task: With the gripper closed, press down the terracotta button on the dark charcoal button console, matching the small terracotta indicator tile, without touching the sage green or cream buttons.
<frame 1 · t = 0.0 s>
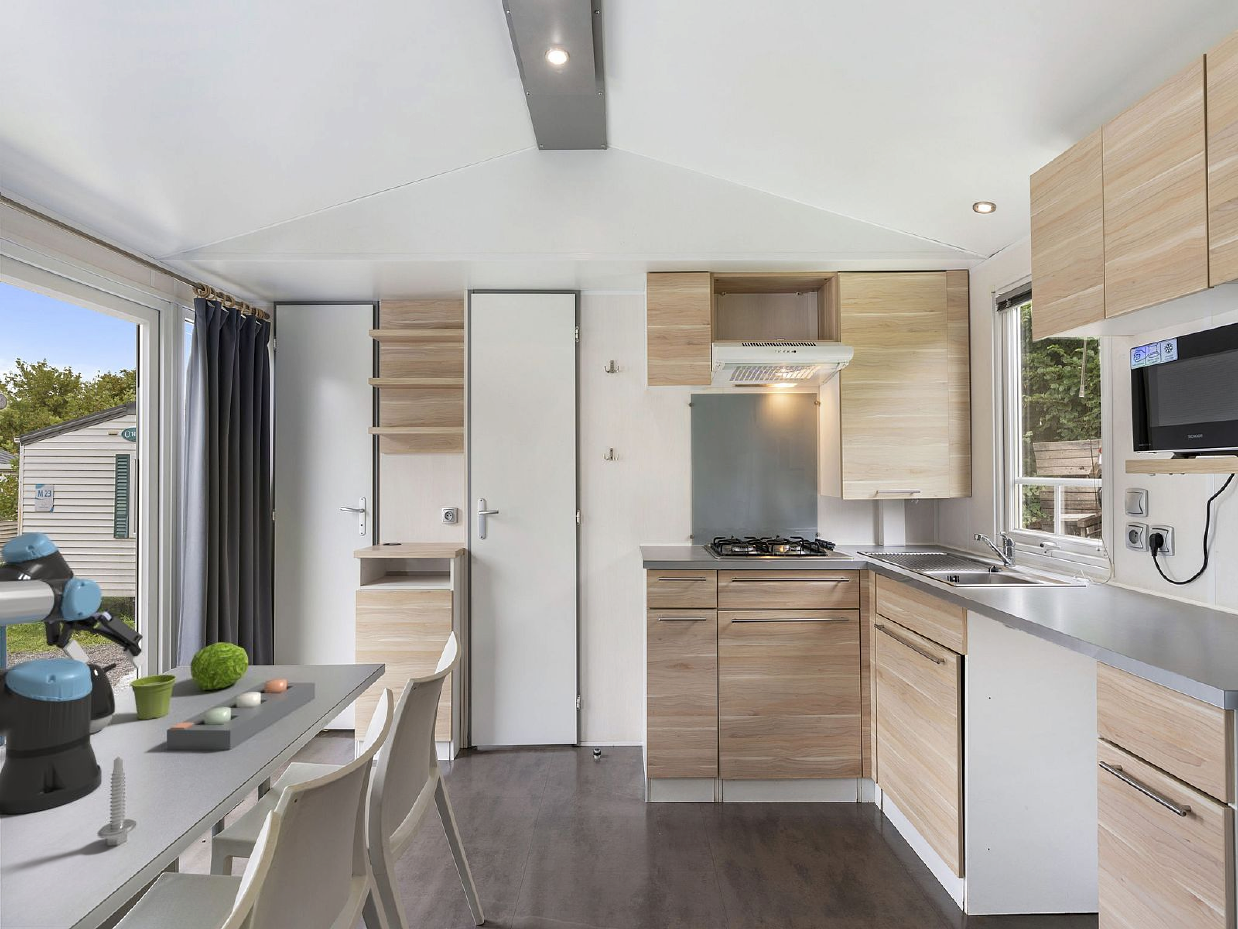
hand: (112, 663, 150), 16 cm above the table, fingers open, 13 cm apart
plant pot: (153, 716, 161), on the table
screw: (117, 843, 103), on the table
terracotta button: (275, 689, 168), point 4 cm above the table, slide at 0.0 cm
sage button: (217, 719, 146), point 4 cm above the table, slide at 0.0 cm
lettuce: (222, 683, 188), on the table
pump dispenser: (87, 732, 151), on the table, touching gripper
button console: (248, 721, 157), on the table
cream button: (248, 703, 157), point 4 cm above the table, slide at 0.0 cm
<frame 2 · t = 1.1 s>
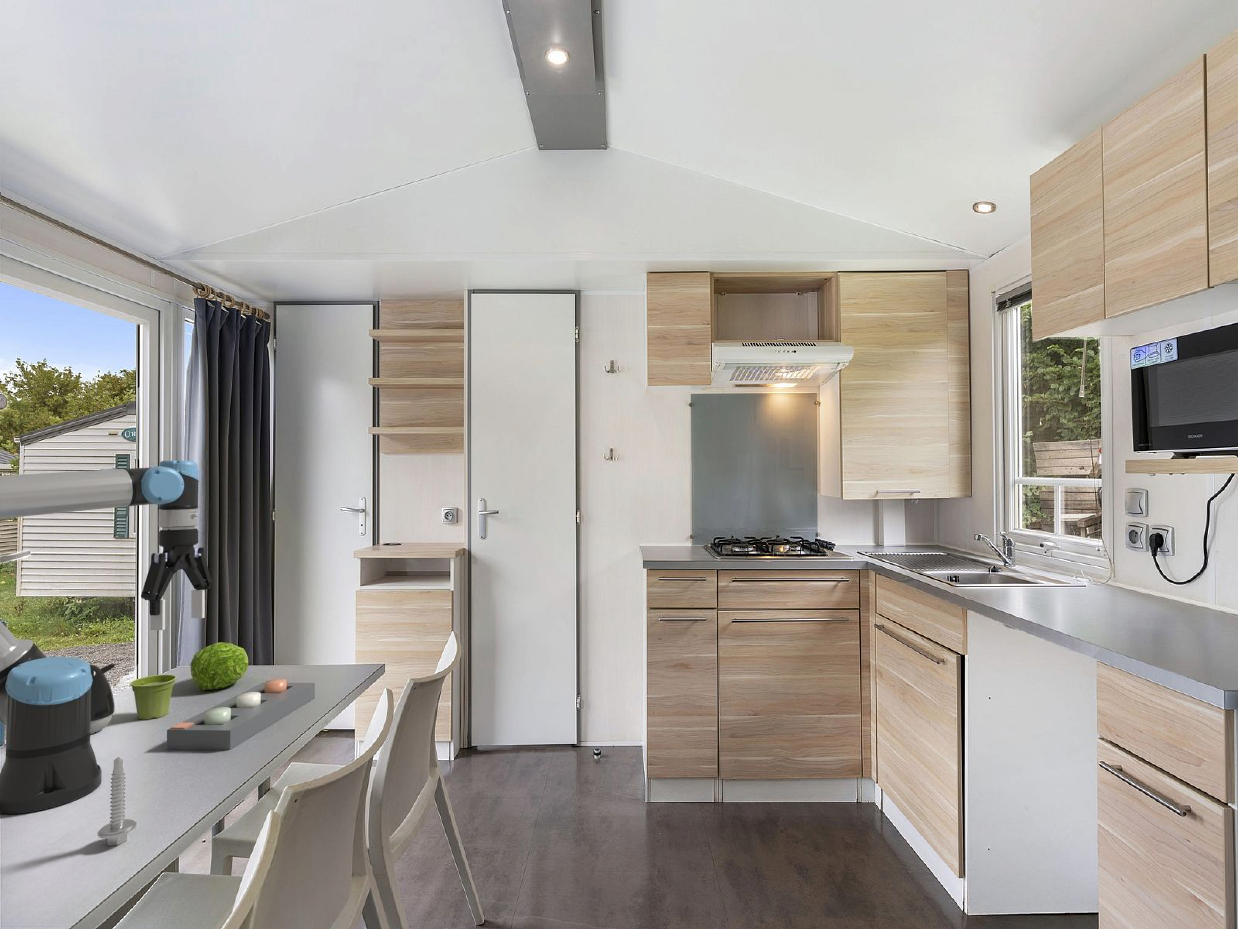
hand: (178, 623, 150), 24 cm above the table, fingers open, 12 cm apart
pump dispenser: (87, 733, 151), on the table
everything else where it was.
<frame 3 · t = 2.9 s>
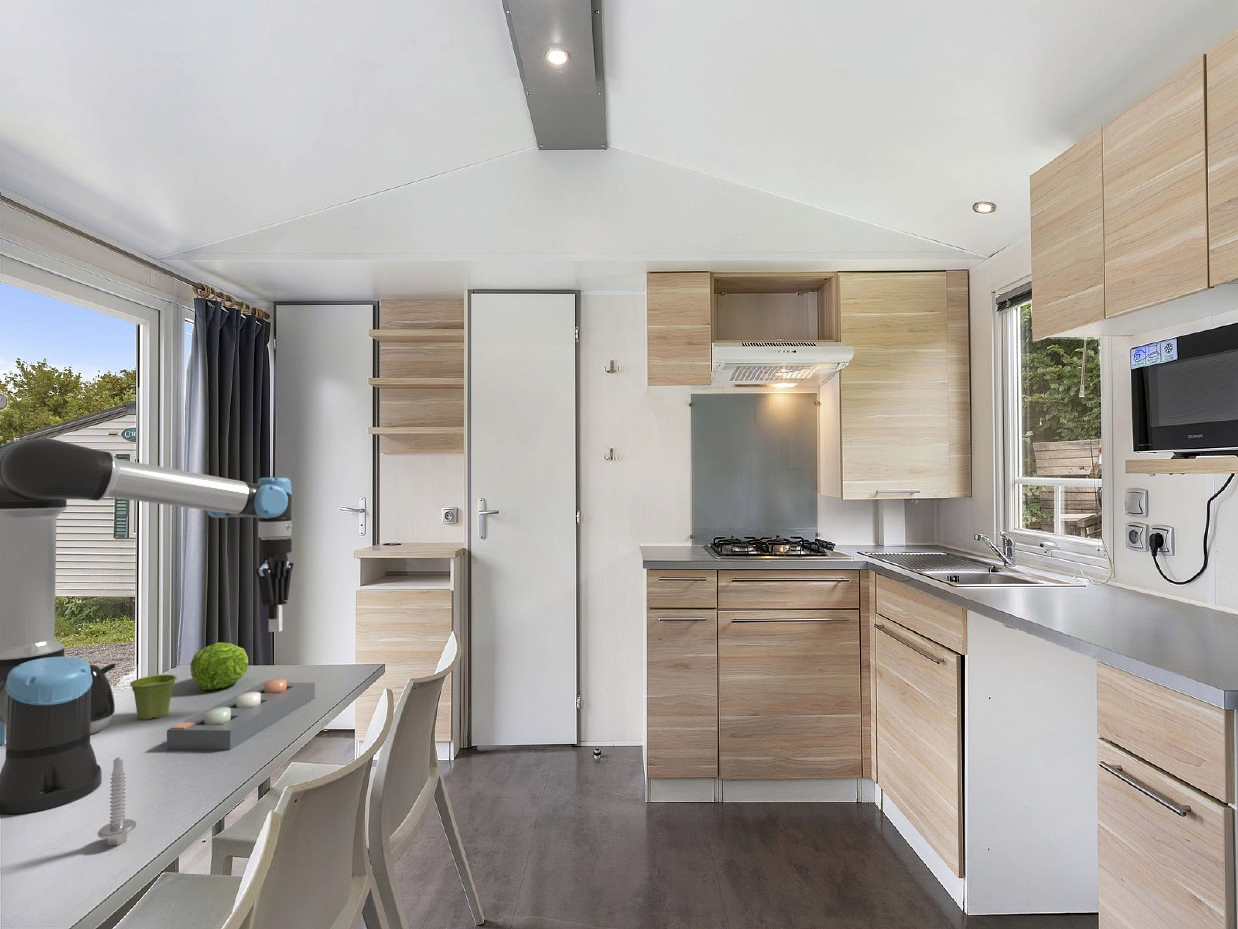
hand: (275, 631, 168), 19 cm above the table, fingers closed
nothing on the table moved.
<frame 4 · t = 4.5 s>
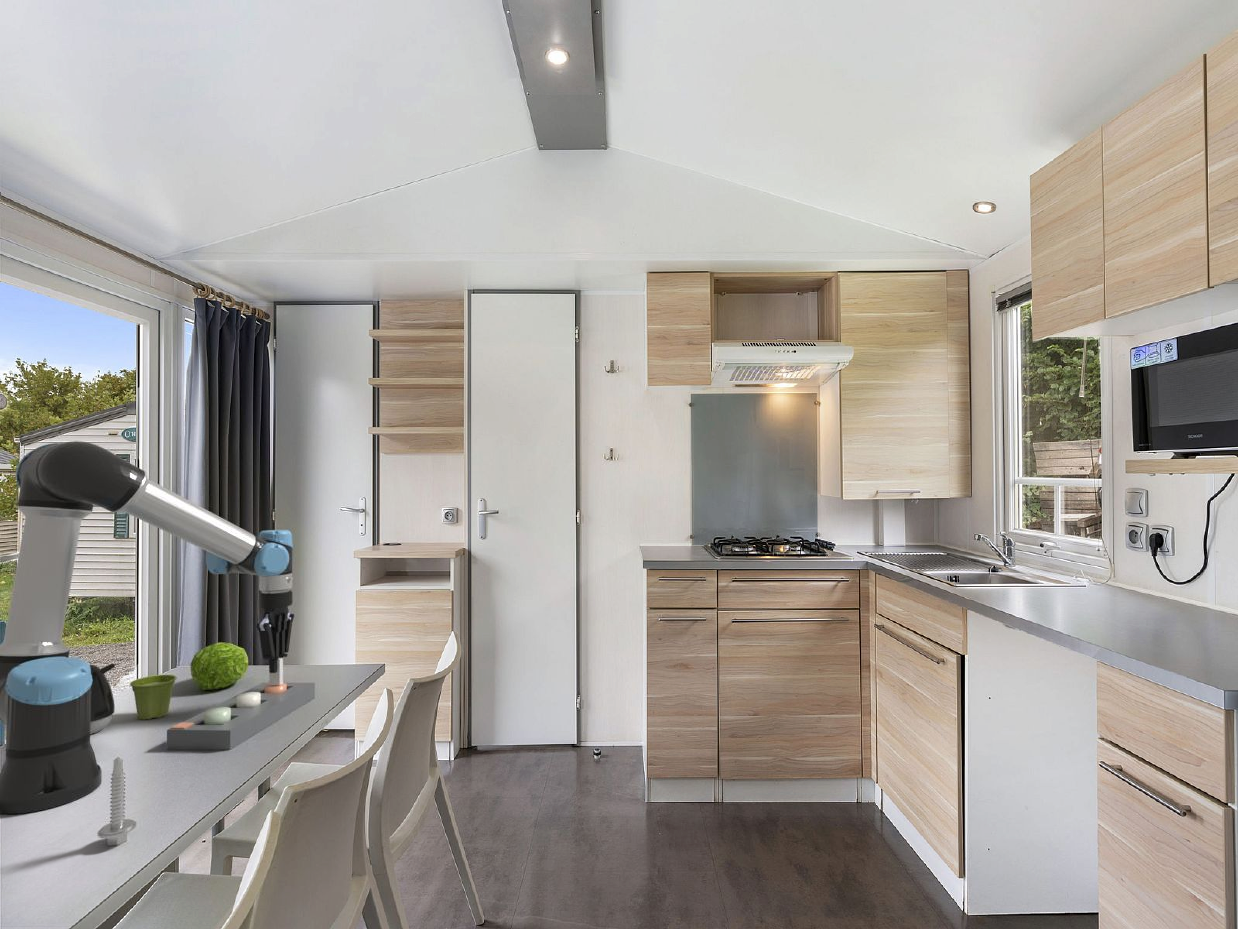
hand: (276, 684, 168), 5 cm above the table, fingers closed
terracotta button: (275, 693, 168), point 3 cm above the table, slide at 1.0 cm, touching gripper
everything else where it was.
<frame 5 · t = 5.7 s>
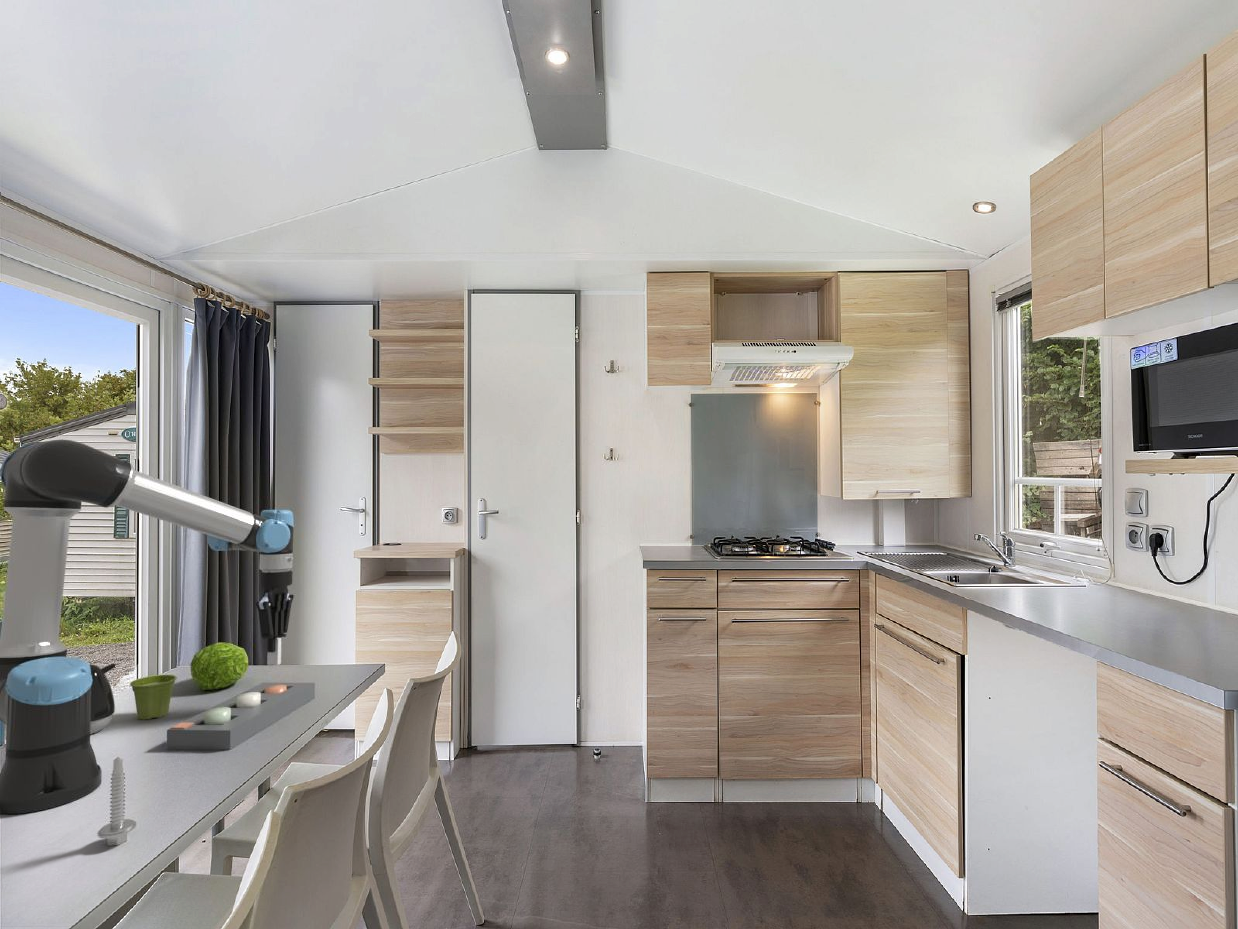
hand: (274, 664, 168), 10 cm above the table, fingers closed
terracotta button: (275, 695, 168), point 3 cm above the table, slide at 1.5 cm
everything else where it was.
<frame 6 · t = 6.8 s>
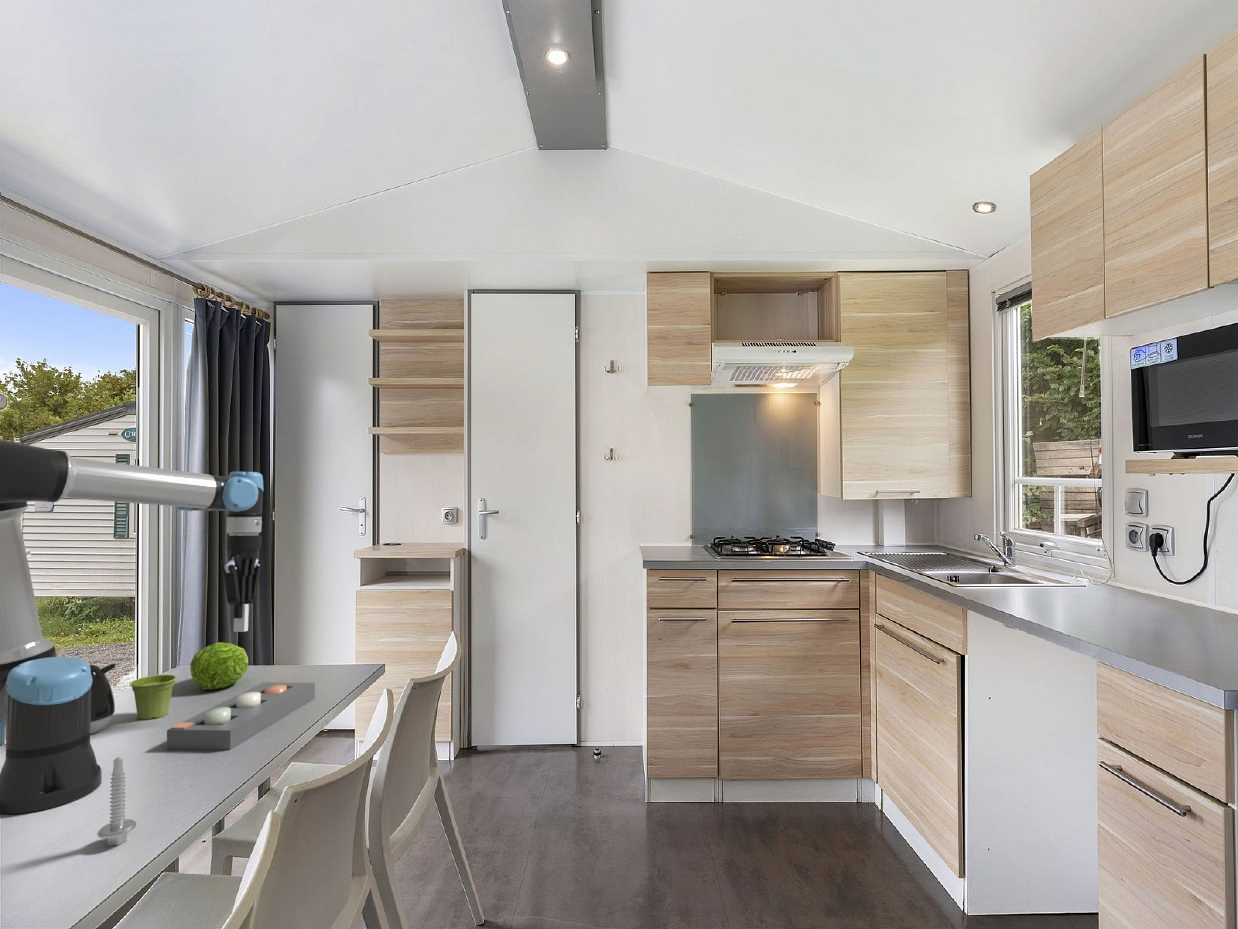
hand: (240, 631, 162), 20 cm above the table, fingers closed
nothing on the table moved.
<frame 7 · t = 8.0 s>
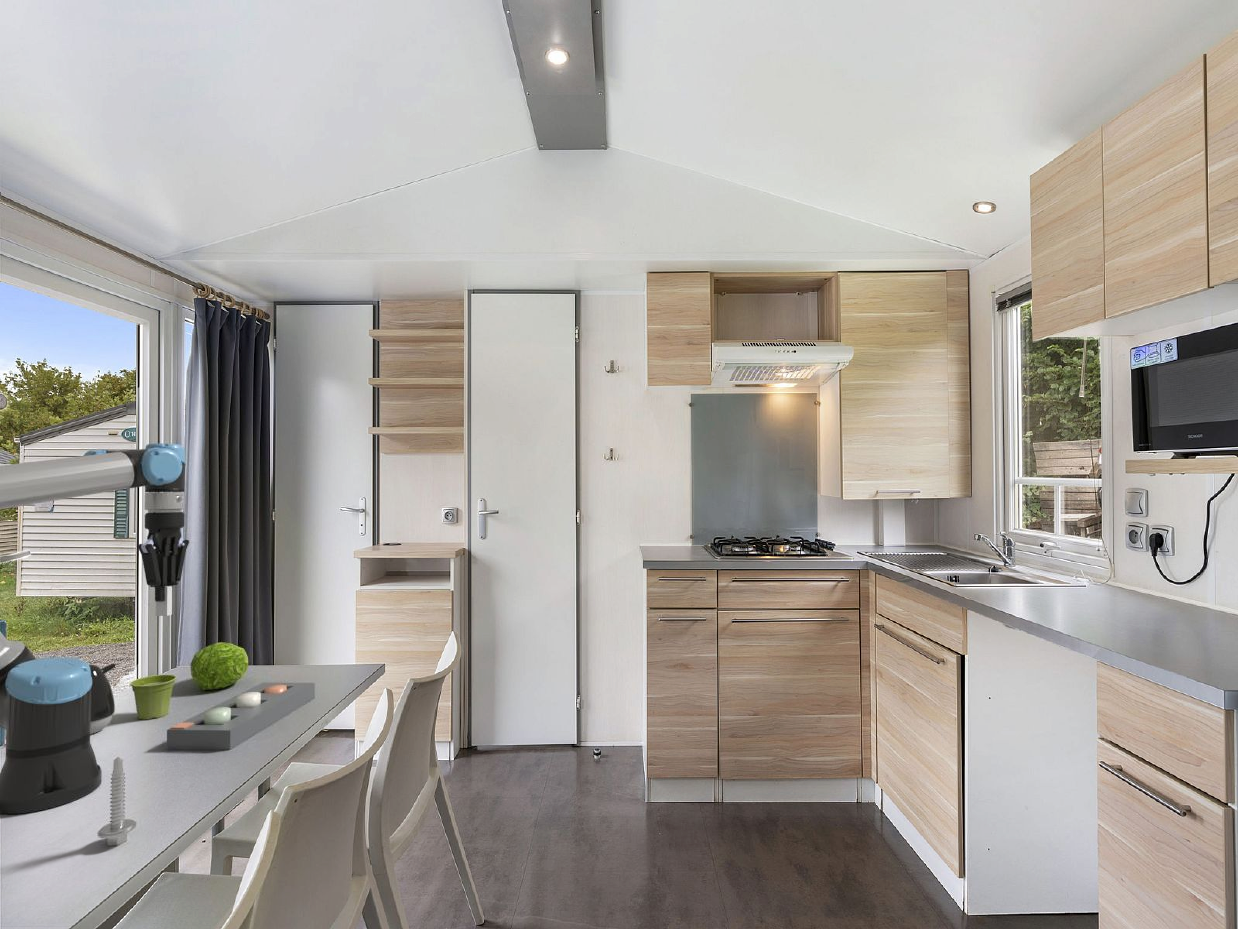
hand: (163, 615, 151), 26 cm above the table, fingers closed
nothing on the table moved.
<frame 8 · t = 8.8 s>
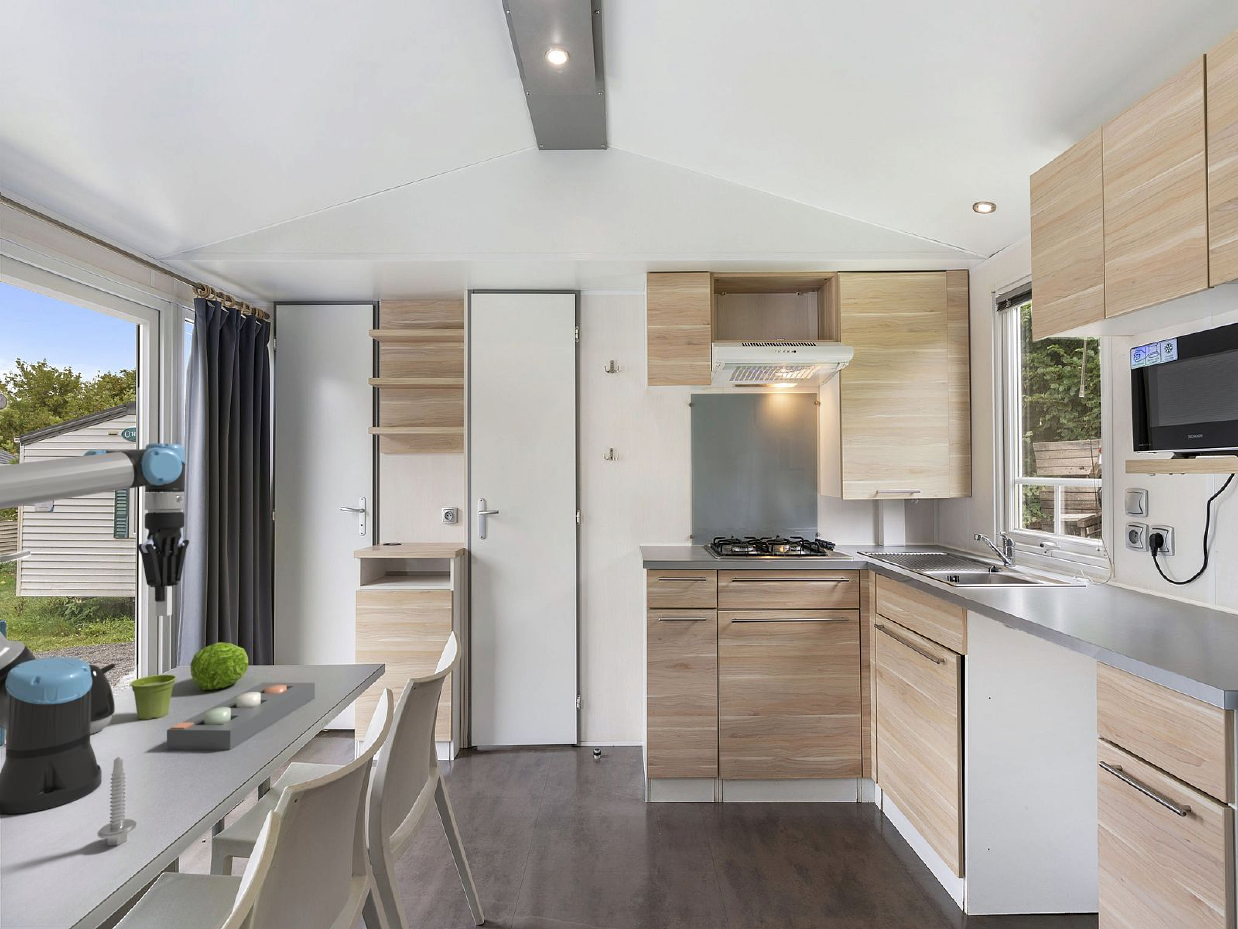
hand: (163, 615, 151), 26 cm above the table, fingers closed
nothing on the table moved.
at the end: terracotta button slide at 1.5 cm; cream button slide at 0.0 cm; sage button slide at 0.0 cm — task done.
